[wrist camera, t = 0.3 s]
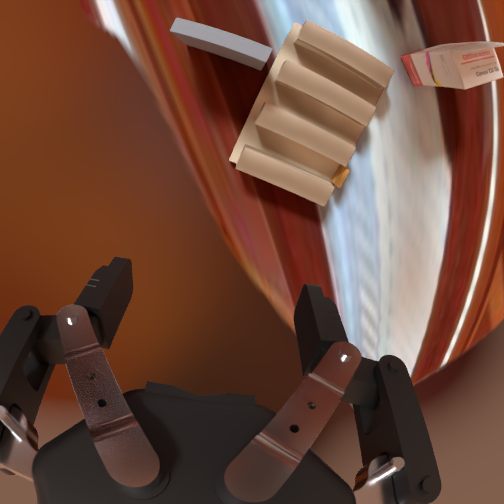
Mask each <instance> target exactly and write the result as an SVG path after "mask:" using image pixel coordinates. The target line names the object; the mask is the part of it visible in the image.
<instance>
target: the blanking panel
mask: <svg viewBox="0 0 504 504" xmlns="http://www.w3.org/2000/svg"><path fill="white" fill-rule="evenodd" d="M170 32H172V33H173V34H174V35H175V36H176V37H178V38H179V39H180V40H181V41H182V42H183V43H185V44H186V45H187V46H191V47H194V48H198V49H201V50H204V51H207V52H210V53H214V54H217V55H220V56H222V57H225V58H228V59H231V60H234V61H237V62H239V63H242V64H245V65H247V66H250V67H252V68H255V69H257V70H260V71H261V70H262V68H263V66H264V65H265V63H266V61H267V59H268V57H269V55H270V53H271V51H272V48H269V47H267V46H264V45H262V44H259V43H257V42H254V41H252V40H249V39H246V38H243V37H241V36H238V35H235V34H232V33H229V32H226V31H223V30H220V29H217V28H213V27H210V26H207V25H203V24H200V23H196V22H192V21H188V20H184V19H180V18H176V19H175V21H174V23H173V25H172V27H171V30H170Z"/></svg>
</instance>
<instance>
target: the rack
mask: <svg viewBox="0 0 504 504" xmlns="http://www.w3.org/2000/svg"><path fill="white" fill-rule="evenodd" d="M393 72H394V70H393V69H391V68H390V67H388V66H387V65H385V64H384V63H383V62H381V61H379V60H378V59H376V58H375V57H373V56H372V55H370V54H369V53H367V52H365V51H364V50H362V49H360V48H359V47H357V46H355V45H354V44H352V43H350V42H349V41H347V40H345V39H343V38H341V37H340V36H338V35H336V34H334V33H332V32H330V31H328V30H326V29H324V28H322V27H320V26H318V25H316V24H314V23H312V22H310V21H308V20H307V21H306V22H305V23H304V24H303V26H302V25H300V24H297V23H294V24H293V26H292V28H291V30H290V32H289V34H288V36H287V38H286V40H285V42H284V43H283V45H282V47H281V49H280V51H279V53H278V55H277V57H276V59H275V61H274V63H273V65H272V67H271V69H270V71H269V73H268V75H267V78H266V80H265V82H264V84H263V86H262V88H261V90H260V92H259V94H258V96H257V99H256V101H255V103H254V105H253V107H252V109H251V111H250V114H249V116H248V118H247V120H246V122H245V125H244V127H243V129H242V131H241V134H240V136H239V138H238V140H237V143H236V145H235V147H234V150H233V152H232V154H231V156H230V159H229V161H232V162H234V163H236V169H237V170H240V171H242V172H245V173H247V174H250V175H252V176H255V177H257V178H260V179H262V180H264V181H267V182H269V183H272V184H274V185H276V186H279V187H281V188H283V189H286V190H288V191H290V192H293V193H295V194H297V195H299V196H302V197H304V198H306V199H308V200H311V201H313V202H315V203H317V204H319V205H321V206H324V207H325V205H326V203H327V201H328V200H329V198H330V196H331V194H332V192H333V190H334V188H335V187H334V185H336V186H337V187H339V188H341V186H342V184H343V182H344V181H345V179H346V177H347V175H348V173H349V171H350V170H348V169H347V168H346V166H347V164H348V162H349V160H350V158H351V157H352V155H353V153H354V151H355V149H356V147H355V145H356V143H357V141H358V139H359V137H360V135H361V133H362V131H363V129H364V127H365V126H366V127H367V126H368V124H369V122H370V120H371V118H372V116H373V114H374V112H375V110H376V107H375V105H376V103H377V101H378V99H379V97H380V95H381V93H382V91H383V89H384V88H386V87H387V85H388V83H389V81H390V79H391V77H392V75H393ZM344 166H345V167H344Z"/></svg>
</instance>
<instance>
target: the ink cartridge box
mask: <svg viewBox="0 0 504 504" xmlns="http://www.w3.org/2000/svg"><path fill="white" fill-rule="evenodd" d="M500 46H504V43H498V42H467V43H454V44H444V45H438V46H434V47H430V48H426V49H423V50H420V51H416V52H413V53H410V54H407V55H404V56H401V58H402V60H403V63H404V65H405V67H406V69H407V72H408V74H409V76H410V79H411V81H412V84H413V85H417V86H437V87H450V88H458V89H468V88H471V87H475V86H478V85H481V84H484V83H487V82H491V81H494V80H497V79H500V78H503V74H502V71H501V67H500V64H499V61H498V58H497V55H496V53H495V50H494V47H500Z"/></svg>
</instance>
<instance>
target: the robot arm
mask: <svg viewBox="0 0 504 504" xmlns="http://www.w3.org/2000/svg"><path fill="white" fill-rule="evenodd" d="M132 293H133V277H132V262H131V260H130V259H127V258H120V257H114V259H113V260H112V262H111V263H110V265H109V266H102V267H101V268H99V269H98V270H96V271H95V273H94V274H93V276H92V277H91V280H89V281H88V283H87V285H86V286H85V288H84V289H83V291H82V292H81V294H80V295H79V297H78V298H77V300H76V302H75V303H74V305H68V306H66V307H64V308H62V309H61V310H60V311H59V312H58V314H57V315H45V316H42V315H40V312H39V310H38V309H37V308H36V307H34V306H31V305H27V306H23V307H20V308H19V309H17V310H16V311H15V312H14V314H13V315H12V317H11V319H10V320H9V322H8V323H7V325H6V326H5V328H4V330H3V331H2V333H1V335H0V470H1V471H2V472H4V473H6V474H8V475H14V474H17V475H19V476H21V477H23V478H25V479H28V480H30V481H32V482H34V486H35V490H36V494H37V504H429V503H431V502H433V501H434V500H435V499H436V498H437V497H438V496H439V494H440V491H441V480H440V476H439V471H438V468H437V463H436V460H435V456H434V452H433V448H432V445H431V441H430V437H429V434H428V431H427V427H426V424H425V421H424V417H423V414H422V411H421V408H420V405H419V402H418V399H417V396H416V393H415V390H414V387H413V384H412V382H411V379H410V376H409V373H408V371H407V368H406V366H405V364H404V363H403V361H402V360H401V359H399V358H398V357H396V356H393V355H385V356H383V357H381V359H380V360H379V362H378V361H374V360H371V359H367V358H364V357H362V356H361V353H360V351H359V350H358V349H357V347H355V346H354V345H352V344H351V343H349V342H348V339H347V336H346V333H345V330H344V327H343V324H342V321H341V318H340V315H339V312H338V310H337V307H336V305H335V303H334V302H333V301H332V300H331V299H330V298H329V297H324V295H323V292H322V289H321V286H318V285H309V284H304V285H303V287H302V290H301V293H300V296H299V299H298V302H297V305H296V308H295V311H294V325H295V331H296V337H297V342H298V348H299V354H300V360H301V366H302V372H303V376H307V377H306V379H305V380H304V381H303V382H302V384H301V385H300V386H299V387H298V389H297V390H296V391H295V392H294V394H293V395H292V396H291V397H290V399H289V400H288V401H287V402H286V403H285V405H284V406H283V407H282V408H281V410H280V411H279V412H278V413H277V414H276V413H275V412H274V411H272V410H271V409H269V408H267V407H265V406H262V405H260V404H257V403H255V396H254V395H241V394H229V393H227V394H219V395H208V396H198V395H195V394H193V393H190V392H187V391H185V390H182V389H180V388H177V387H174V386H171V385H165V384H159V383H154V382H148V381H147V384H146V388H145V389H135V390H131V391H128V392H125V393H123V394H122V392H121V391H120V388H119V386H118V385H117V382H116V380H115V378H114V376H113V373H112V371H111V369H110V366H109V364H108V362H107V360H106V357H105V355H104V352H103V350H102V348H106V349H109V348H110V346H111V344H112V341H113V339H114V336H115V334H116V332H117V329H118V327H119V325H120V322H121V320H122V318H123V316H124V313H125V311H126V309H127V307H128V304H129V302H130V300H131V297H132ZM56 364H66V366H67V369H68V373H69V375H70V379H71V382H72V385H73V388H74V391H75V394H76V397H77V400H78V403H79V405H80V408H81V411H82V413H83V416H84V418H85V419H83V420H82V421H80V422H79V423H77V424H75V425H74V426H72V427H71V428H69V429H68V430H66V431H65V432H63V433H62V434H60V435H59V436H57V437H56V438H54V439H53V440H51V441H50V442H48V443H46V444H45V445H43V446H42V447H41V448H40V449H38V439H39V436H38V432H37V430H36V428H35V427H34V422H35V419H36V416H37V412H38V410H39V406H40V404H41V401H42V398H43V395H44V393H45V390H46V387H47V385H48V382H49V380H50V377H51V374H52V372H53V369H54V367H55V365H56ZM339 401H344V402H348V403H352V404H353V409H354V414H355V420H356V425H357V431H358V437H359V443H360V449H361V456H362V463H363V467H362V468H361V469H360V470H359V471H358V473H357V474H356V477H355V486H354V488H353V490H352V489H351V488H350V486H349V485H348V484H347V483H346V482H345V481H344V480H343V479H342V478H341V477H340V476H339V475H338V474H337V473H335V472H334V471H333V470H332V469H331V468H330V467H329V466H328V465H327V464H326V463H325V462H324V461H323V460H322V459H321V458H320V457H319V456H318V455H317V454H316V453H315V452H314V451H313V450H312V449H311V448H310V446H311V445H312V443H313V442H314V441H315V439H316V438H317V436H318V435H319V433H320V432H321V430H322V428H323V427H324V425H325V424H326V422H327V421H328V419H329V418H330V416H331V414H332V413H333V411H334V410H335V408H336V406H337V405H338V403H339Z"/></svg>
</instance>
